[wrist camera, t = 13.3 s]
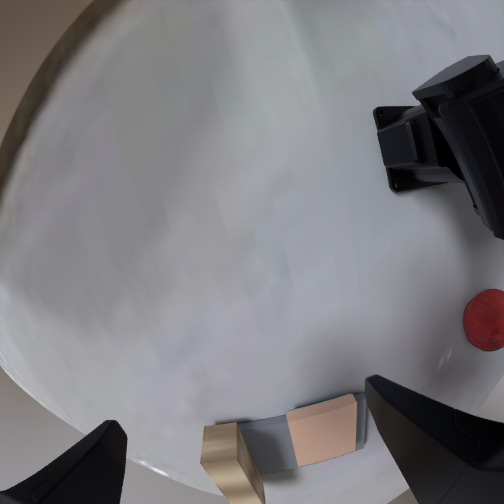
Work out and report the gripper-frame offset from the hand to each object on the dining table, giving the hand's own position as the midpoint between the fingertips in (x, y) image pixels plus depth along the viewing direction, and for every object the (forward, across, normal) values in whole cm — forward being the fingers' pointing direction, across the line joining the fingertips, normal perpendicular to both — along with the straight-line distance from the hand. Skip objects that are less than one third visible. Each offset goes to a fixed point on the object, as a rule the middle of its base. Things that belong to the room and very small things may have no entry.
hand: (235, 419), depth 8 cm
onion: (+12, -22, +8) cm, 26 cm away
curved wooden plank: (+11, +4, +18) cm, 21 cm away
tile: (+10, -4, +11) cm, 16 cm away
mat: (+12, -2, +18) cm, 21 cm away
